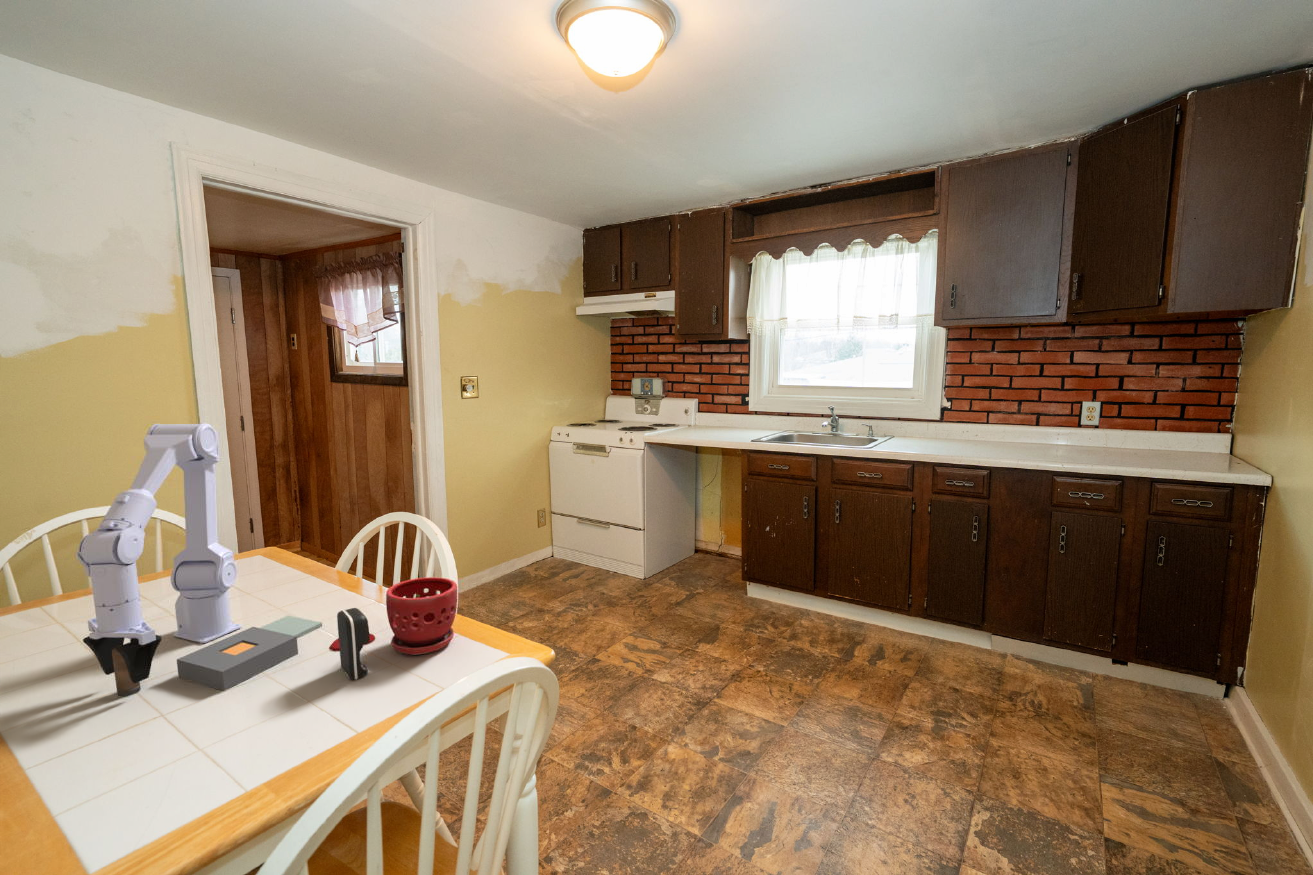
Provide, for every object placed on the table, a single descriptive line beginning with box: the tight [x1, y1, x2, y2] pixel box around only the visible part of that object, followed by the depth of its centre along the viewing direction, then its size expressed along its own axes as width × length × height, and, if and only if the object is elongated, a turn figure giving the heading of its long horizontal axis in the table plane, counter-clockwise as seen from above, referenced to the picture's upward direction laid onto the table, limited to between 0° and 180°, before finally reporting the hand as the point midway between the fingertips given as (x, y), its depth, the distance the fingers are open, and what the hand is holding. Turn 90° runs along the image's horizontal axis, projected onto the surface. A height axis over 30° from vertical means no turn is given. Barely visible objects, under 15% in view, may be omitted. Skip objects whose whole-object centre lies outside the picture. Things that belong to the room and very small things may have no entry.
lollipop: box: [329, 632, 376, 652], centre depth 125 cm, size 8×1×15 cm
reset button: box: [222, 643, 255, 655], centre depth 112 cm, size 4×4×1 cm
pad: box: [260, 615, 323, 639], centre depth 126 cm, size 10×9×1 cm
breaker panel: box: [176, 626, 299, 692], centre depth 112 cm, size 12×14×4 cm
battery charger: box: [336, 607, 370, 681], centre depth 109 cm, size 7×4×11 cm, turn 42°
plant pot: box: [385, 576, 458, 656], centre depth 120 cm, size 13×13×12 cm
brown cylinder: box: [112, 648, 141, 698], centre depth 103 cm, size 3×3×8 cm
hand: (127, 675), depth 103 cm, fingers open, 7 cm apart
